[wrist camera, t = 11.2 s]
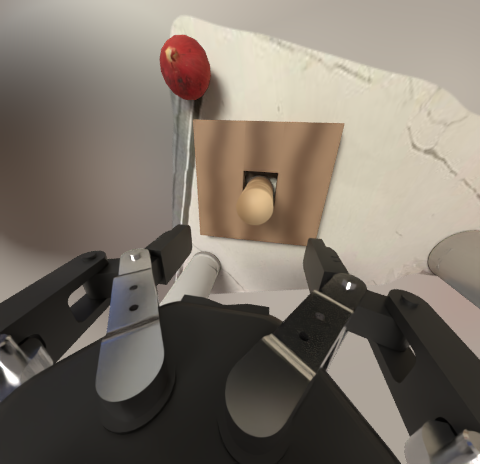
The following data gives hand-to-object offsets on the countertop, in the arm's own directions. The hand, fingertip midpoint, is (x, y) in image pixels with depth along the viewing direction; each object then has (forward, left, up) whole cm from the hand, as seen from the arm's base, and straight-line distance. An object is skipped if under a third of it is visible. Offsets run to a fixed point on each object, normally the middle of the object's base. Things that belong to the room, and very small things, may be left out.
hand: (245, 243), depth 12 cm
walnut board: (0, 0, -20) cm, 20 cm away
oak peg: (0, 0, -20) cm, 20 cm away
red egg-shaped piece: (+10, -14, -20) cm, 26 cm away
